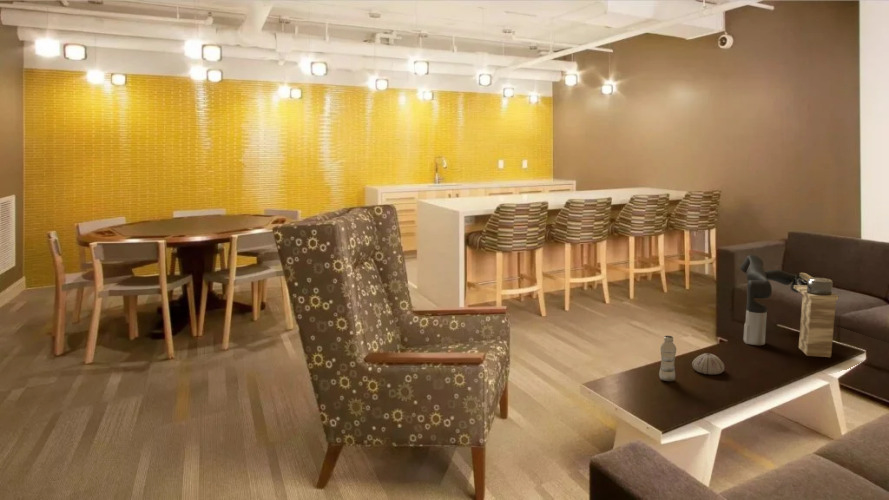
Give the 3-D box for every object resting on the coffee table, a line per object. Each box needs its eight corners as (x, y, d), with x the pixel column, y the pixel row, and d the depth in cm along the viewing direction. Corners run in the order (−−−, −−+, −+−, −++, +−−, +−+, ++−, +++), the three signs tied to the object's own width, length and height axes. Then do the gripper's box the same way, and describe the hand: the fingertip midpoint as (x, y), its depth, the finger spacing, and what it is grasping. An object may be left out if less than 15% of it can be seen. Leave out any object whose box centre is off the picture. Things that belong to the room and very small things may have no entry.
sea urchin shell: (726, 378, 240) (726, 360, 239) (692, 374, 245) (693, 357, 244) (722, 367, 252) (723, 350, 251) (690, 364, 257) (691, 348, 256)
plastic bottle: (656, 377, 243) (657, 335, 239) (670, 376, 243) (672, 334, 240) (663, 383, 236) (664, 339, 233) (678, 382, 237) (679, 338, 234)
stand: (833, 357, 260) (838, 296, 255) (804, 355, 263) (809, 295, 258) (816, 342, 280) (820, 285, 276) (789, 341, 284) (793, 285, 279)
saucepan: (835, 295, 256) (836, 282, 255) (811, 295, 259) (812, 281, 258) (812, 282, 284) (813, 269, 283) (790, 281, 287) (791, 269, 285)
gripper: (793, 271, 305) (800, 268, 290) (822, 278, 300) (831, 275, 285) (790, 284, 305) (797, 282, 290) (819, 291, 300) (828, 289, 285)
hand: (814, 278), depth 288 cm, fingers open, 8 cm apart
